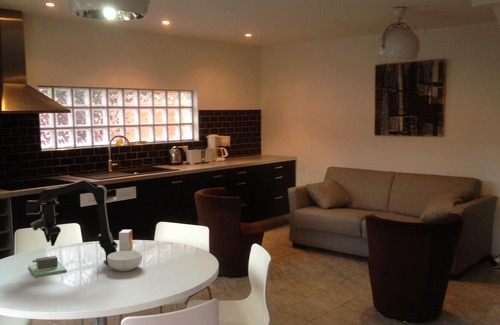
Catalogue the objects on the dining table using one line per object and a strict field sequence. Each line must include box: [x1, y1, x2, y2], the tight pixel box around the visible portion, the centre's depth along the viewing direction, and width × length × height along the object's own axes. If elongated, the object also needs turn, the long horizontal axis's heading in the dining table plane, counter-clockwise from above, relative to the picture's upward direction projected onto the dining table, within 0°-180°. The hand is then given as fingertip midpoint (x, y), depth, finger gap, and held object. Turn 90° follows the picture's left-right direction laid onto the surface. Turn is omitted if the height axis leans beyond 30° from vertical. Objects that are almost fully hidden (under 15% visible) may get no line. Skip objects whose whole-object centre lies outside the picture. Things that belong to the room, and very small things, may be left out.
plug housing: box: [31, 255, 59, 270], centre depth 242 cm, size 4×11×4 cm, turn 124°
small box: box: [118, 229, 134, 251], centre depth 279 cm, size 8×6×10 cm
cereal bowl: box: [107, 250, 143, 272], centre depth 243 cm, size 17×17×7 cm
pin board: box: [28, 260, 68, 278], centre depth 243 cm, size 18×14×4 cm
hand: (50, 243), depth 249 cm, fingers open, 9 cm apart
